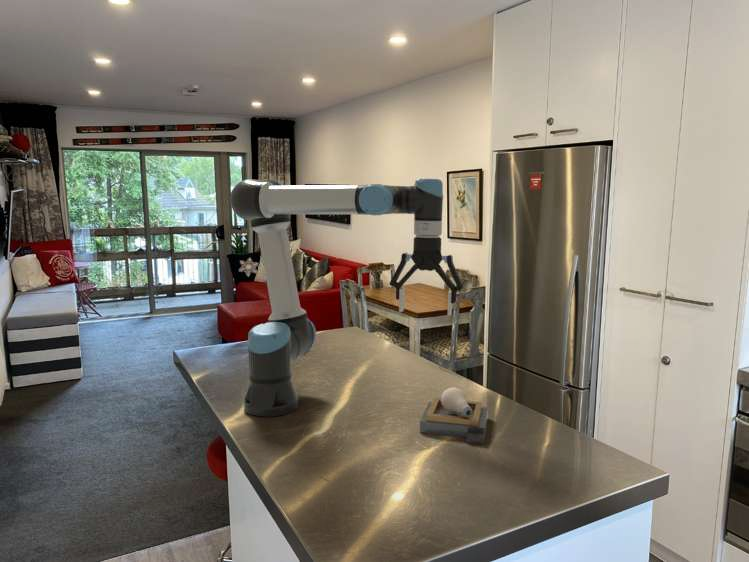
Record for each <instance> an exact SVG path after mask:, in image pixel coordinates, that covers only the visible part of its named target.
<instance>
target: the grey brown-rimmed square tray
mask: <svg viewBox="0 0 749 562" xmlns="http://www.w3.org/2000/svg"><path fill="white" fill-rule="evenodd" d="M441 398H442V397H441ZM441 398H439V397H434V398H433V400H432V401H429V402H428V404H427V405H426V408H425V410H424V412H423V414H422V416H421V418H420V421H419V433H420V434H421V433H422V434H423V433H424V434H430V435H442V436H449V437H457V438H465V443H466V444H476V445H484V439H485V436H486V435H485V434H486V430H487V429H486V428H487V424H488V419H489V407H486V406H483V402H482V401H473V400H466V401H467V403H468V405H469V406H470V407H471V408H472V413H471V415H470V416H468V417H465V416H463V415H462V414H459V413H451V412H449V411H447V410H446V409H445V408H444V407H443V405H442V403H441Z"/></svg>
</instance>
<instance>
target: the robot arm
mask: <svg viewBox="0 0 749 562" xmlns="http://www.w3.org/2000/svg"><path fill="white" fill-rule="evenodd" d="M229 200H230V201H229V202H230V206H231V209H232V210H233V212H234V213H235V214H236V216H238V217H239V218H241V219H243V220H245V221H249V223H250V227H251V230H253V231H254V232H255V233H257V236H258V242H259V249H260V254H261V259H262V263H263V269H264V275H265V281H266V286H267V291H268V297H269V302H270V307H271V313H270V315H269V317H268V319H267V320H268V322H265V323H260V324H257V325H255V326H253V327H252V328H251V329H250V330H249V332H248V339H247V349H248V350H247V351H248V372H249V373H248V375H249V376H248V377H249V378H248V379H249V381H248V386H247V389H246V393H245V397H244V400H243V410H244V412H245V413H247V414H248V415H251V416H255V417H260V418H261V417H269V418H270V417H278V416H279V417H280V416H284V415H288V414H290V413H293V412H294V411H296V410H297V409H298V407H299V398H298V394H297V392H296V388H295V386H294V384H293V380H292V362H294V361H296V360H297V359H298V358H301V357H303V356H305V355H307V354H308V353H309V351H311V349H312V348H313V347H314V345H315V344H316V340H317V330H316V327H315V325H314V323H313V322H312V321H311V320H310V319H309V318H308V315H307V313H308V312H307V310H305V309H304V308H302V306H301V304H300V302H301V301H300V298H299V292H298V285H297V280H296V274H295V269H294V264H293V259H292V253H291V247H290V242H289V236H288V232H287V229H288V227H289V225H290V224H291V219H290V215H362V216H363V215H364V216H365V215H366V216H368V215H370V216H382V215H391V214H393V215H394V214H395V215H397V214H398V215H399V214H401V215H402V214H404V215H406V214H408V215H412V214H413V217H414V218H413V221H414V222H413V235H414V238H413V251H412V253H411V254H410V253H408V252H403V253H402V254H401V257H400V262H399V264H398V265H397V267H396V270H395V272H394V274H393V275H392V277H391V280H390V281H389V286H390V287H391V286H392V287H394V288H395V299H396V300H397V301H398V313H402V312H404V310H405V287H403V285H404V284H405V283H406V282H407V281H408V280H409V279H410V278H411V276H412V275H413V274H414V273H415V272H416V271H417V270H419V271H422V272H423V271H427V272H432V271H435V273H437V274H438V275H439V277H440V279H441V280H442V281H443V282H444V284H445V285H446V286H447V287H448V288H449V291H448V292H447V295H448V296H447V316H448V317H451V316H452V314H453V304H456V303H457V292H458V291H461V290H464V284H463V282H462V280H461V277H460V275H459V273H458V270H457V269H456V266H455V264H454V258H453V257H454V256H453V255H452V254H448V255H442V238H441V237H440V236H442V233H443V231H442V230H443V205H444V204H443V203H444V202H443V201H444V188H443V181H442V180H441V179H439V178H416V179H415V181H414V185H407V186H404V185H385V184H380V183H373V184H372V183H371V184H336V185H335V184H331V185H330V184H325V185H324V184H321V185H318V184H317V185H315V184H314V185H313V184H312V185H310V184H309V185H285V184H282V183H281V182H278V181H275V180H271V179H267V180H266V179H252V178H251V179H244V180H241V181H239V182H238V183H237V184H236V185H235V186H233V188H232V190H231V192H230V197H229ZM410 259H411V261H412V262H413V263H414V264H413V265H412V266H411V268H410V269H409V270H408V271H407V272H406V273H405V274H404V275H403V277H402V278H401V279H400V280H399V278H400V276H401V274H402V273H403V271H404V269H405V266H406V265H407V262H410ZM441 262H444V263H445V264H446V265H447V267H448V270H449V272H450V274H451V277H452V279H453V280H452V279H451V278H450V277H449V275H448V274H447V273H446V272H445V270H444V269H443V268H442V266H441V265H440V263H441ZM398 280H399V281H398ZM453 281H454V282H455V284H454V282H453Z"/></svg>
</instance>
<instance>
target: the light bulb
mask: <svg viewBox="0 0 749 562" xmlns="http://www.w3.org/2000/svg"><path fill="white" fill-rule="evenodd" d="M467 401H468V400H467V396H466V393H464V392H463V390H462V389H460V388H457V387H455V386H454V387H449V388H447V389H445V390H444V391H443V392H442V394H441V403H442V405H443V407H444V408H445V409H446V410H447V411H449V412H451V413H459V414H462V415H463V416H465V417H468V416H470V415H471V413H472V408H471V407H470V406H469V405H468V403H467Z"/></svg>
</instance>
